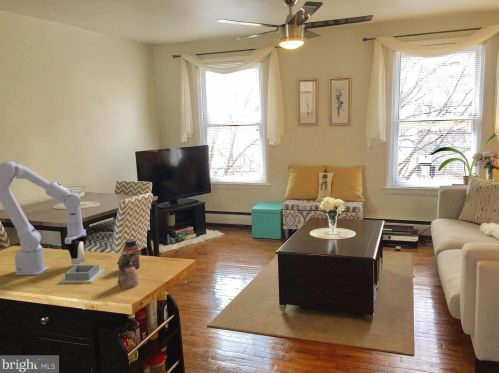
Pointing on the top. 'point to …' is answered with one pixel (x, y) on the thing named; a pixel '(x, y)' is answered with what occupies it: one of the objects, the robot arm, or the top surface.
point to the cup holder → (82, 274)
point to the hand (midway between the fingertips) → (77, 256)
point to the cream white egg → (79, 254)
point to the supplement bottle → (134, 248)
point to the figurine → (127, 271)
